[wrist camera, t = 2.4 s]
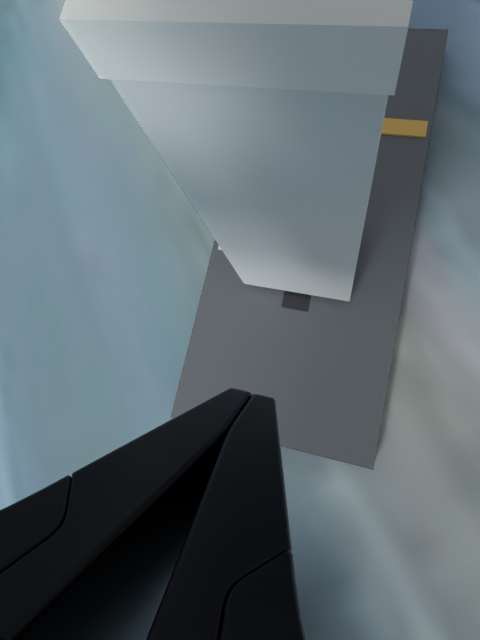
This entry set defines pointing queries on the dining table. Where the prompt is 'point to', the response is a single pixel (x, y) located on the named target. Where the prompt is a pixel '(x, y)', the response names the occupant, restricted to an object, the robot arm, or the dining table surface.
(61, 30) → the dining table surface
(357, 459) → the console
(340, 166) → the fader tab
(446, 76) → the dining table surface
